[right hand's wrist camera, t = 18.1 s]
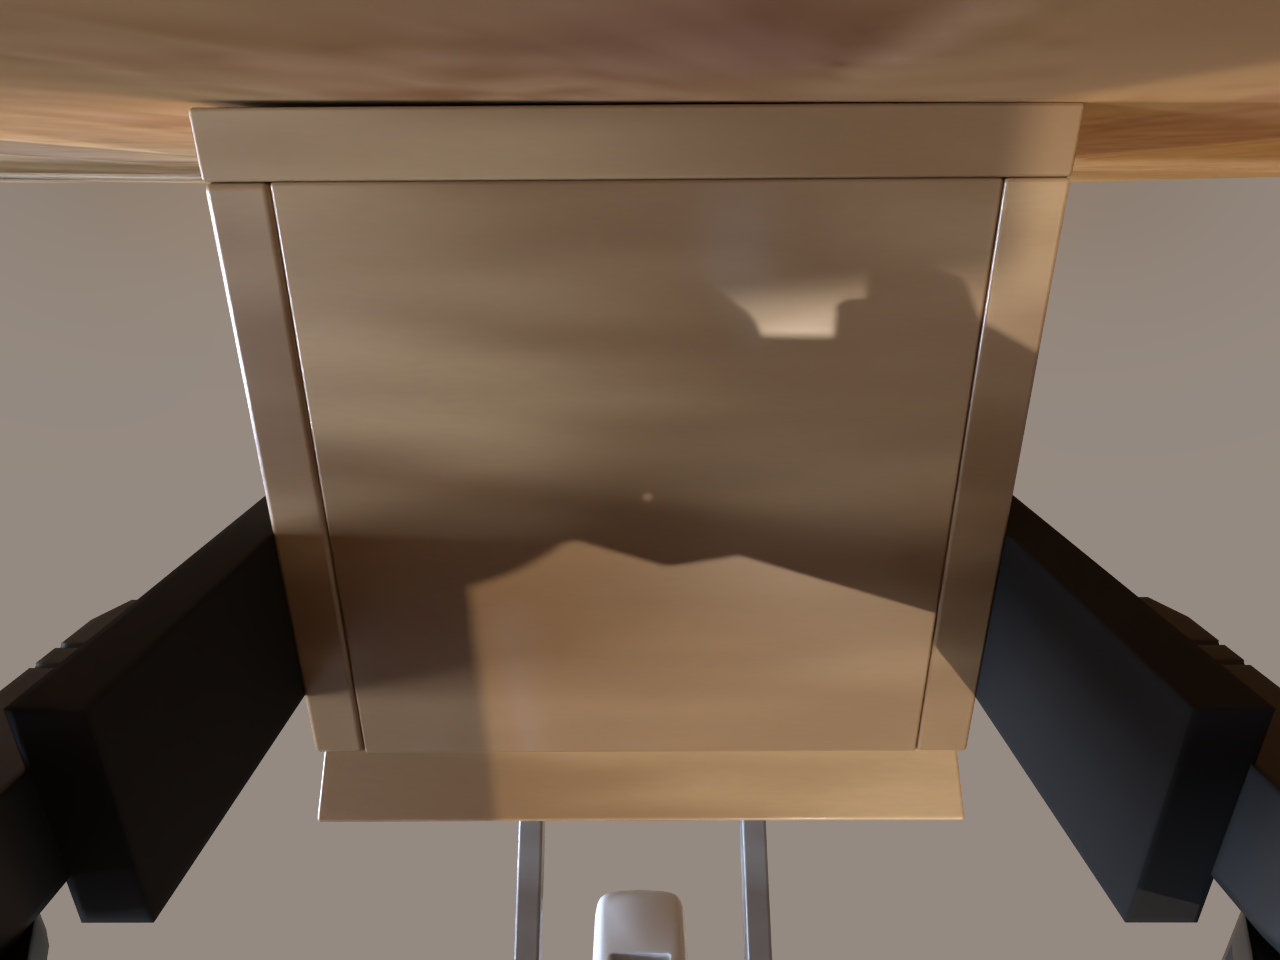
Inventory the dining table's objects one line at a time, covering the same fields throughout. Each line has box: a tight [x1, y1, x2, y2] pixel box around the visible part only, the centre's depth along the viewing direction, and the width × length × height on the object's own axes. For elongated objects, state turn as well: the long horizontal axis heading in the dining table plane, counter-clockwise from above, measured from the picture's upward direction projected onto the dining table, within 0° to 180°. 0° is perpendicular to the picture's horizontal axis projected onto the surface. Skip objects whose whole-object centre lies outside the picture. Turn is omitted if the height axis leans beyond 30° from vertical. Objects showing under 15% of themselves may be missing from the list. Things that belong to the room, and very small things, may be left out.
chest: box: [189, 102, 1084, 753], centre depth 16 cm, size 13×10×9 cm
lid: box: [318, 748, 964, 960], centre depth 18 cm, size 14×10×9 cm
